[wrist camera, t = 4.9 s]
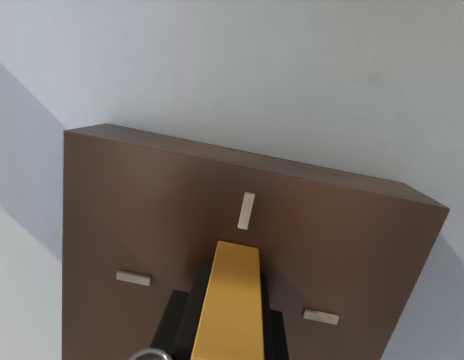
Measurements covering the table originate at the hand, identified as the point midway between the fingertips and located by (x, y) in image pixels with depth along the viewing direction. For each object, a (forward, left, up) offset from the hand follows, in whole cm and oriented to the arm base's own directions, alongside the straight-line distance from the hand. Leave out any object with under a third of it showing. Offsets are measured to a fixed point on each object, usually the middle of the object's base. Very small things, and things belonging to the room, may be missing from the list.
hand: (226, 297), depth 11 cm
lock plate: (0, 0, -3) cm, 3 cm away
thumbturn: (0, 0, 0) cm, 0 cm away
